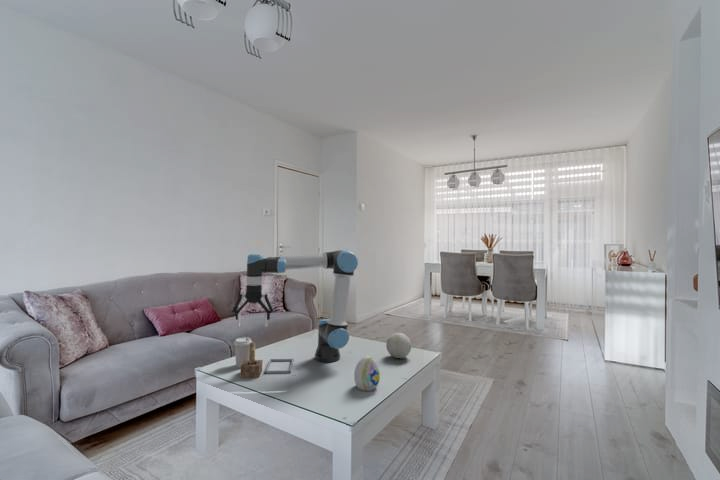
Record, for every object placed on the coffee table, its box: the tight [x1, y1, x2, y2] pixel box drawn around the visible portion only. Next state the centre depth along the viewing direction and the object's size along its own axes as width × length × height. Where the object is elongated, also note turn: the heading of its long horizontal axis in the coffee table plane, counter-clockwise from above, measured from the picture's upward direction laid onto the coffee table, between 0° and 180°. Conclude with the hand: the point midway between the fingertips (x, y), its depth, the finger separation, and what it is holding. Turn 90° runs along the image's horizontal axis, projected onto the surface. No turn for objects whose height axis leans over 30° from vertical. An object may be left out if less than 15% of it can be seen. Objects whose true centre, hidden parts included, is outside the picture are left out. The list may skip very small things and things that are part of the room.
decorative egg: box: [353, 355, 381, 392], centre depth 165 cm, size 12×12×15 cm
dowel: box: [249, 341, 256, 365], centre depth 176 cm, size 3×3×16 cm
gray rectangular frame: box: [264, 358, 295, 375], centre depth 187 cm, size 13×19×2 cm
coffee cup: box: [233, 337, 253, 369], centre depth 187 cm, size 10×10×15 cm
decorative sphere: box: [386, 332, 412, 359], centre depth 210 cm, size 15×15×15 cm
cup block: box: [240, 359, 263, 379], centre depth 176 cm, size 9×9×6 cm
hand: (252, 326), depth 176 cm, fingers open, 13 cm apart
